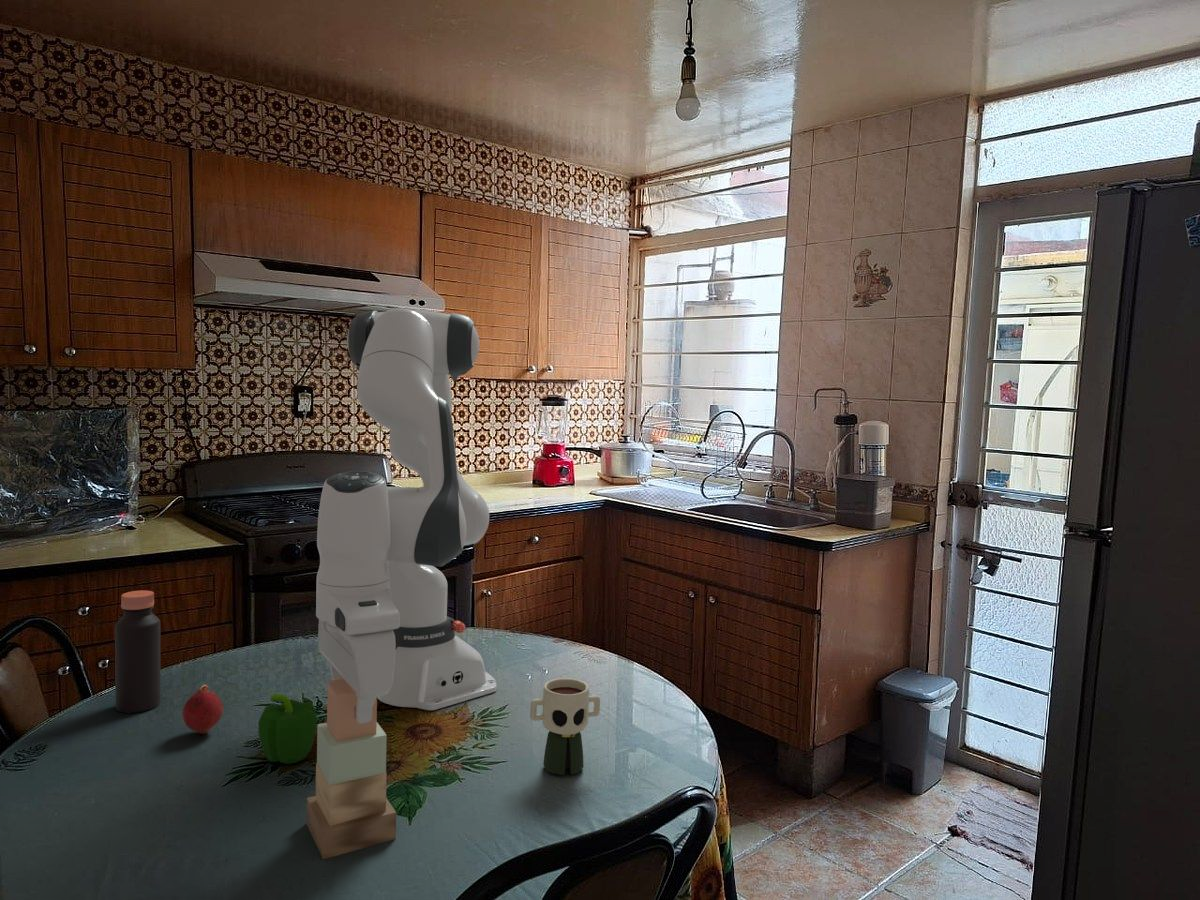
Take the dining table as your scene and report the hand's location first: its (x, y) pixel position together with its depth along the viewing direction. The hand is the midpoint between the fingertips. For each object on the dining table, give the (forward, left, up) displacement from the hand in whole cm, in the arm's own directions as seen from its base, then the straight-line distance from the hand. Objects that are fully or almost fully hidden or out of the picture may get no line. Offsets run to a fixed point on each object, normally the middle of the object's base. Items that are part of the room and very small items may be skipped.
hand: (351, 707), depth 101 cm
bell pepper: (+2, -25, -17) cm, 30 cm away
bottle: (+20, -57, -17) cm, 63 cm away
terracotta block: (0, 0, -3) cm, 3 cm away
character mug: (-33, -1, -17) cm, 37 cm away
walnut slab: (0, 0, -17) cm, 17 cm away
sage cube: (0, 0, -8) cm, 8 cm away
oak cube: (0, 0, -13) cm, 13 cm away
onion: (+12, -40, -17) cm, 45 cm away
